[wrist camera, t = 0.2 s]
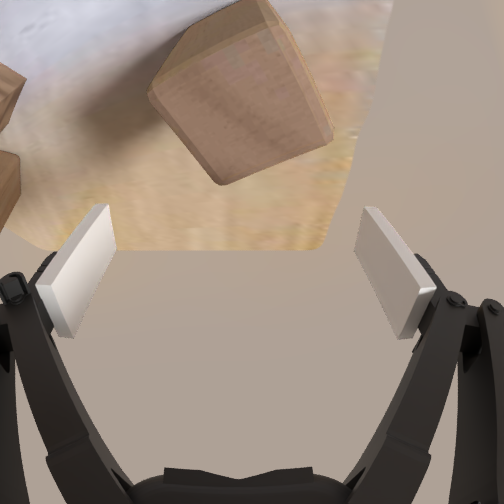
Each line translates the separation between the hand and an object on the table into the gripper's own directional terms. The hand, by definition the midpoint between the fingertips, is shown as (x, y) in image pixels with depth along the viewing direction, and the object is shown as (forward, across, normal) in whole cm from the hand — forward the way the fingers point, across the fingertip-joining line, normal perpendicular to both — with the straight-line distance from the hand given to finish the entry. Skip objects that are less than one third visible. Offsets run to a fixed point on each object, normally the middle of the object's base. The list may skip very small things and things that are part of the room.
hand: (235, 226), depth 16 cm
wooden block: (+26, 0, +11) cm, 28 cm away
